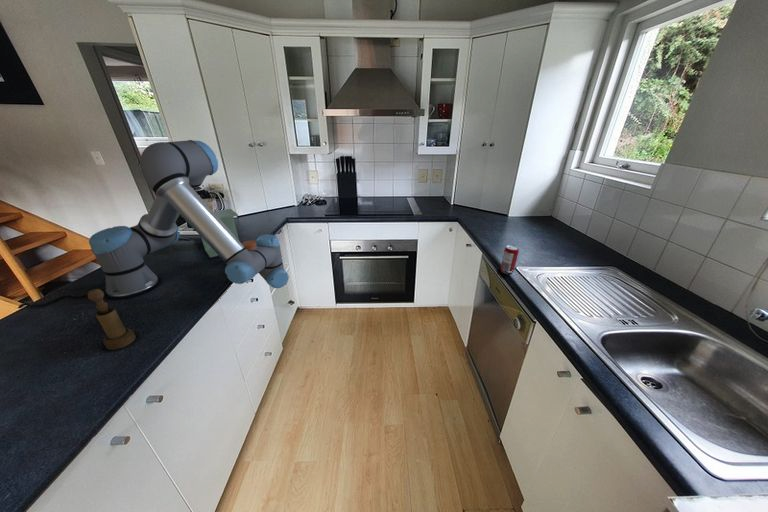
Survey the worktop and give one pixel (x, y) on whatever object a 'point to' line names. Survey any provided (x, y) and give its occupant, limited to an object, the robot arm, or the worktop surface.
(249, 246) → the reddish-brown upright block
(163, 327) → the worktop surface
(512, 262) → the soda can
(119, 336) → the brown tall wooden piece
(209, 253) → the pale green box
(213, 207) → the coffeecake box
